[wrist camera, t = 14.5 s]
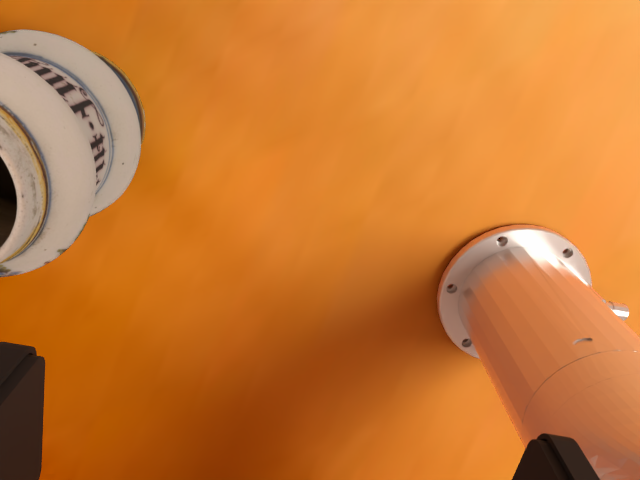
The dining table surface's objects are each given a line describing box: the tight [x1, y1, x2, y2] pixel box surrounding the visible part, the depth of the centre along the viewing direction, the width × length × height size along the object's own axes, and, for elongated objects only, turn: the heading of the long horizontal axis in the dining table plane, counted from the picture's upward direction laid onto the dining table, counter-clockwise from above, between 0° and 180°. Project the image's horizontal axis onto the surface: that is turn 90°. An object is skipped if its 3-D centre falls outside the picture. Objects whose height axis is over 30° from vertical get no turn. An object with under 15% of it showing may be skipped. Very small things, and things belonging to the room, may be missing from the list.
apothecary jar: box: [0, 30, 145, 277], centre depth 32 cm, size 12×12×18 cm
